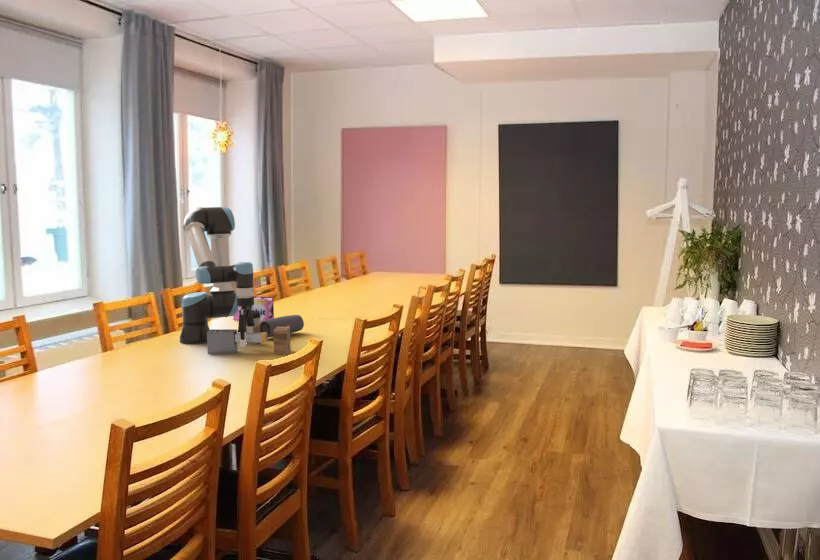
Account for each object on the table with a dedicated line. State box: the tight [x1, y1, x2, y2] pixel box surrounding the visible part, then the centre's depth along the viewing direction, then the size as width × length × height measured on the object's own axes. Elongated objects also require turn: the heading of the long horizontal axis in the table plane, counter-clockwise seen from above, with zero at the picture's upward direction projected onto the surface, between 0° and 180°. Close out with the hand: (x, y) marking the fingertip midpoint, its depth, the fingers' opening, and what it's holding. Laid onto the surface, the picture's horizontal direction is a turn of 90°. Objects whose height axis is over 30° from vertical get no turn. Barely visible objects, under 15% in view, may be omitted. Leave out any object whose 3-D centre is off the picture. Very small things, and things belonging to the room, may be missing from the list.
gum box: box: [232, 295, 275, 323], centre depth 407 cm, size 24×8×14 cm, turn 68°
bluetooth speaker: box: [260, 314, 305, 339], centre depth 362 cm, size 23×9×10 cm, turn 143°
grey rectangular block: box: [206, 328, 239, 355], centre depth 326 cm, size 6×12×10 cm, turn 89°
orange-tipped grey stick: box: [234, 332, 268, 343], centre depth 325 cm, size 4×25×4 cm, turn 90°
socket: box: [273, 327, 292, 355], centre depth 325 cm, size 8×6×11 cm
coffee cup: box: [245, 311, 261, 345], centre depth 345 cm, size 8×8×15 cm
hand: (246, 343), depth 326 cm, fingers open, 13 cm apart
